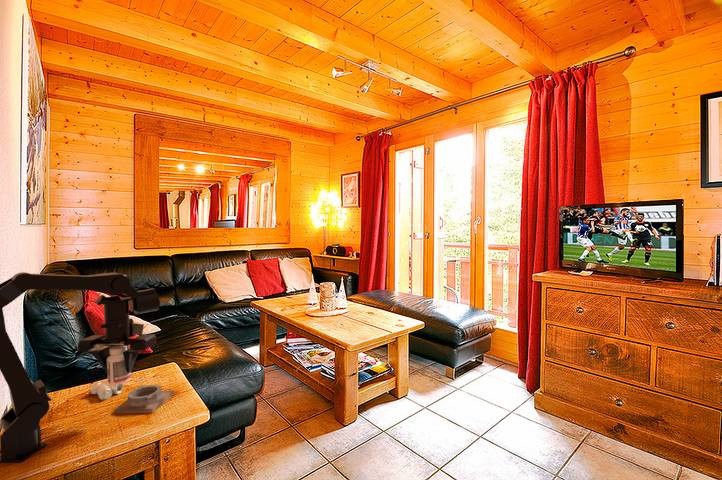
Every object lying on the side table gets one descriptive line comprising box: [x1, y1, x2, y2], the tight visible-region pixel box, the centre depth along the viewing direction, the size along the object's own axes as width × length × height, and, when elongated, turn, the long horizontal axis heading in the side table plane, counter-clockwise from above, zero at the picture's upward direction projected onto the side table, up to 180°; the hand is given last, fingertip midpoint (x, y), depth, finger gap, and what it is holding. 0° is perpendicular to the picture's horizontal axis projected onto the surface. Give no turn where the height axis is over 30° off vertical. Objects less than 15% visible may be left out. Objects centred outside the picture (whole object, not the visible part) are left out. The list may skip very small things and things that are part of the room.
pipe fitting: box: [90, 382, 124, 401], centre depth 110 cm, size 8×4×7 cm
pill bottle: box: [106, 346, 132, 385], centre depth 97 cm, size 5×5×10 cm
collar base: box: [113, 384, 174, 414], centre depth 104 cm, size 11×11×4 cm
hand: (119, 372), depth 97 cm, fingers closed on pill bottle, 5 cm apart
